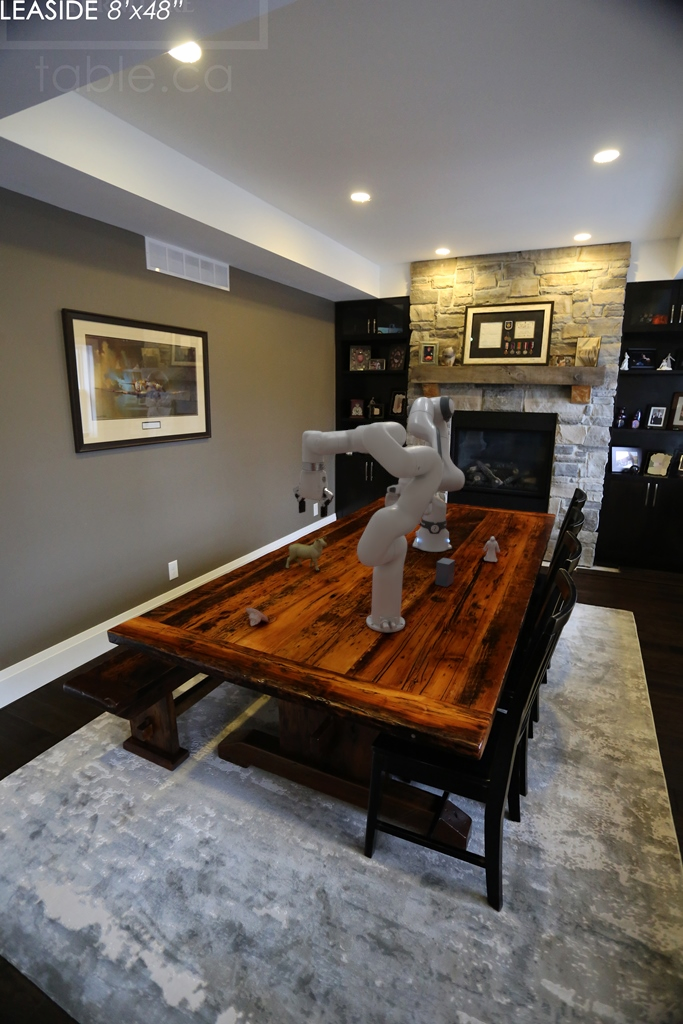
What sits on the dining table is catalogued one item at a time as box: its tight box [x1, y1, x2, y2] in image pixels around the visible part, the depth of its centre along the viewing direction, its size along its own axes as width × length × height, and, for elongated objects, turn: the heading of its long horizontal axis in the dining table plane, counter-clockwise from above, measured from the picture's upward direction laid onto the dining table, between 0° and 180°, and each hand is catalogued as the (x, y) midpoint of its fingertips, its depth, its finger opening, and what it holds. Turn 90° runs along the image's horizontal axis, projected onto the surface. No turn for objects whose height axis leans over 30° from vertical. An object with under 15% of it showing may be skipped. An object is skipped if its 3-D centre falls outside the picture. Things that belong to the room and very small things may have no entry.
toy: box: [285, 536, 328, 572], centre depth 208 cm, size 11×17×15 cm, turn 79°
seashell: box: [245, 607, 269, 627], centre depth 160 cm, size 8×5×8 cm
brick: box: [434, 557, 456, 588], centre depth 197 cm, size 5×6×9 cm
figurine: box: [482, 535, 501, 563], centre depth 223 cm, size 8×8×12 cm
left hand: (312, 514), depth 177 cm, fingers open, 9 cm apart
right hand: (407, 521), depth 208 cm, fingers open, 8 cm apart
